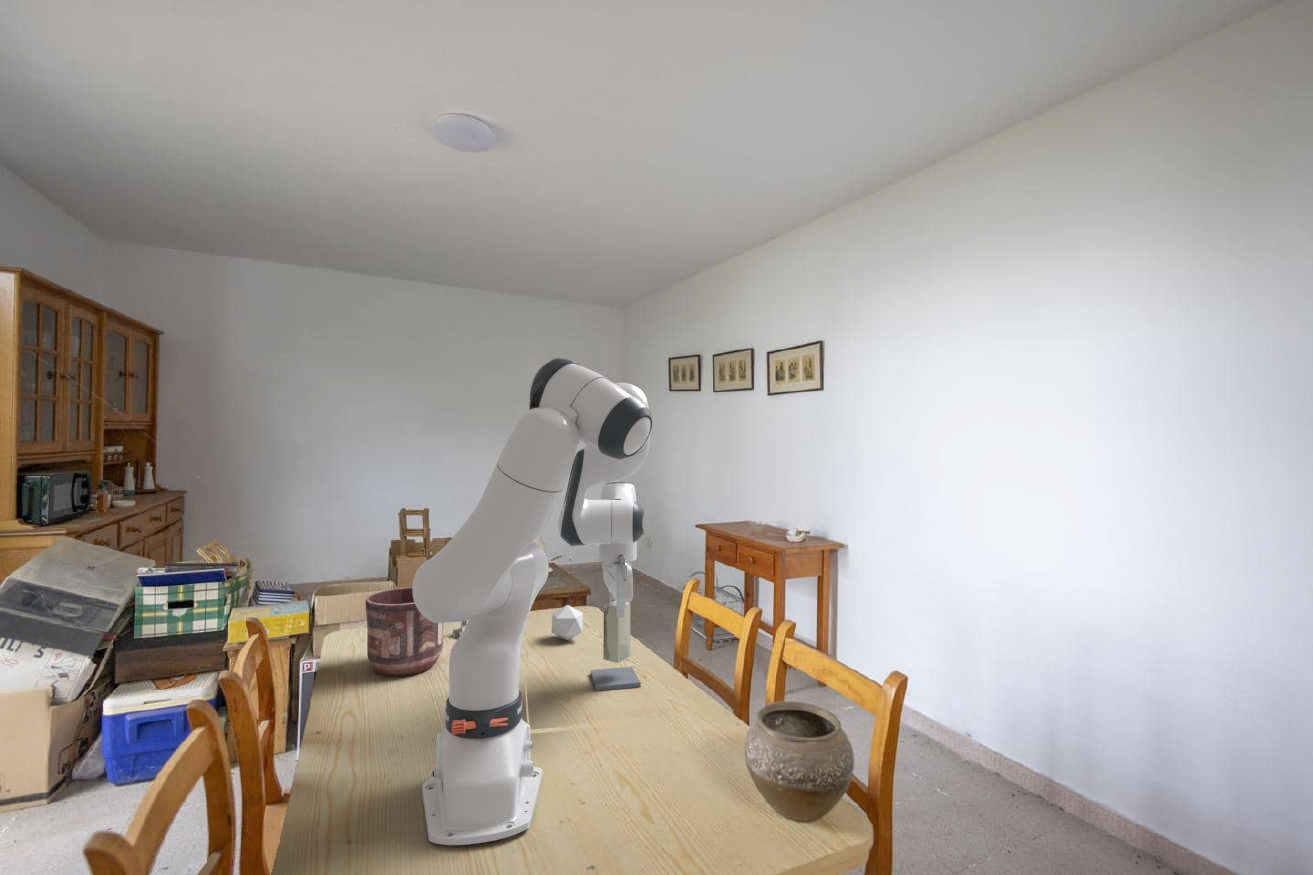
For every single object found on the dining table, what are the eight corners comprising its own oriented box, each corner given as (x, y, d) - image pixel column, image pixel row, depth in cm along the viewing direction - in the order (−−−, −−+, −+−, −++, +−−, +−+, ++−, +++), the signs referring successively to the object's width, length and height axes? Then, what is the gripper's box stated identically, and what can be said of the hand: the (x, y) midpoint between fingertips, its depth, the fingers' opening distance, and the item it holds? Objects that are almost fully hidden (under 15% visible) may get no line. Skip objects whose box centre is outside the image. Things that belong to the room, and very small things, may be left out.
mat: (640, 686, 137) (640, 682, 137) (596, 690, 135) (596, 686, 135) (631, 670, 147) (631, 666, 147) (590, 674, 144) (590, 669, 144)
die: (571, 633, 175) (572, 599, 175) (588, 641, 168) (589, 605, 168) (545, 639, 170) (546, 603, 170) (562, 648, 163) (562, 610, 163)
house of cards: (437, 637, 172) (437, 610, 172) (469, 634, 175) (469, 607, 175) (440, 647, 163) (440, 619, 163) (473, 643, 167) (474, 615, 167)
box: (616, 654, 144) (616, 599, 144) (631, 657, 141) (631, 602, 142) (602, 660, 139) (602, 603, 140) (617, 664, 137) (617, 606, 137)
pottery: (419, 686, 136) (421, 606, 137) (348, 681, 139) (350, 602, 139) (457, 659, 154) (458, 587, 154) (394, 654, 157) (395, 584, 157)
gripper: (640, 559, 131) (639, 623, 131) (623, 544, 151) (622, 600, 151) (611, 560, 130) (610, 625, 130) (598, 545, 150) (597, 601, 150)
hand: (617, 611), depth 141 cm, fingers closed on box, 6 cm apart
